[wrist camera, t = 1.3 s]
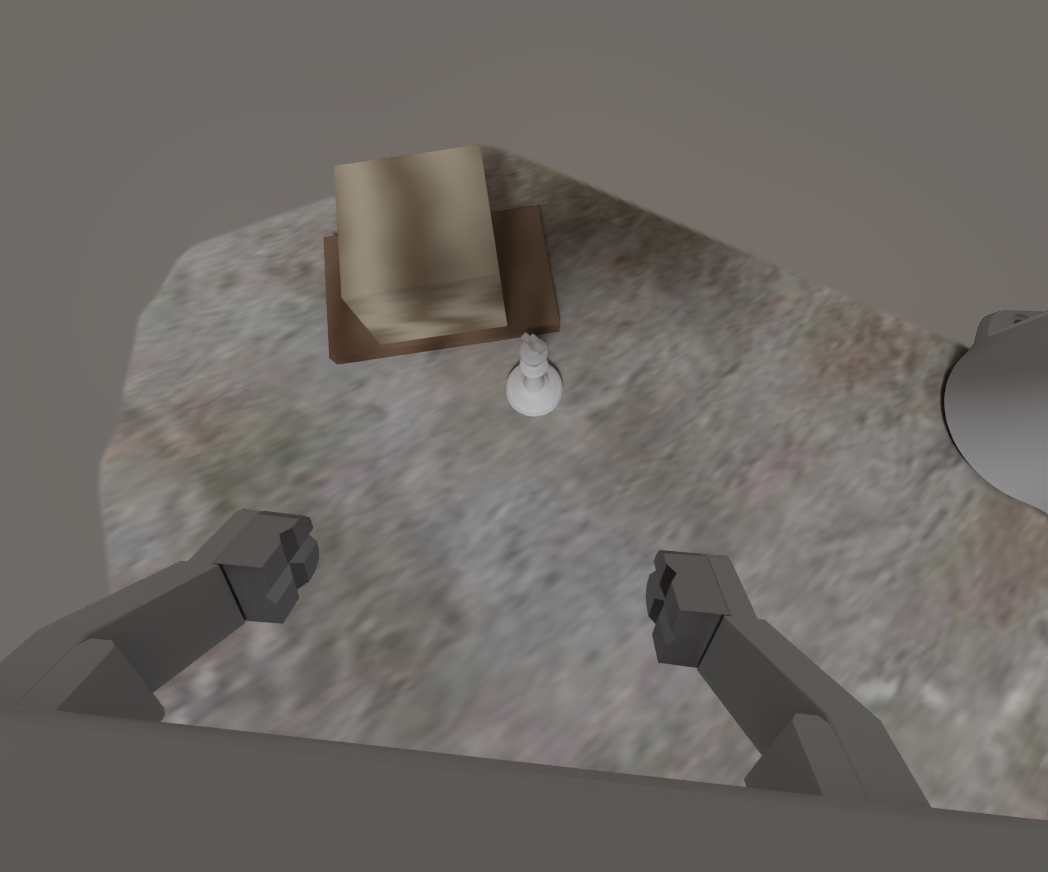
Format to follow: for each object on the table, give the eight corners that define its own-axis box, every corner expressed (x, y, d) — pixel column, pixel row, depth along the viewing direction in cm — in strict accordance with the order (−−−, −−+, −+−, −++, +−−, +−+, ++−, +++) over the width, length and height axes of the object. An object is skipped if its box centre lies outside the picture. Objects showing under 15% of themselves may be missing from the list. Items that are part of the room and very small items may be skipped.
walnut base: (538, 217, 40) (538, 130, 32) (559, 331, 38) (565, 271, 29) (331, 247, 40) (274, 169, 32) (337, 364, 38) (276, 314, 29)
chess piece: (530, 351, 37) (528, 288, 28) (574, 385, 37) (587, 333, 27) (494, 392, 37) (478, 342, 27) (537, 427, 36) (537, 389, 26)
